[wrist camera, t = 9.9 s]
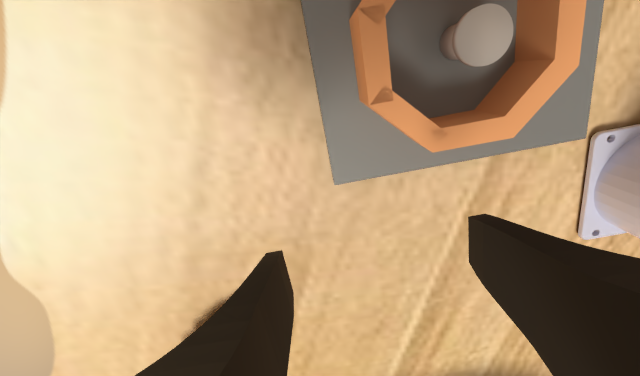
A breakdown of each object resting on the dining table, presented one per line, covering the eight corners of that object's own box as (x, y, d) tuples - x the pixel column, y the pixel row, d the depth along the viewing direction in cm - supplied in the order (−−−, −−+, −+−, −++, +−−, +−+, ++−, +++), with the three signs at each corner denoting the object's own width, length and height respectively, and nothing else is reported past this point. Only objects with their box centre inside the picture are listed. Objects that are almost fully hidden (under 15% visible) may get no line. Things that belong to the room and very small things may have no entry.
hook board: (605, -143, 15) (704, -216, 11) (573, 135, 20) (634, 149, 16) (287, -74, 15) (280, -121, 12) (333, 180, 20) (338, 203, 17)
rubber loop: (545, -90, 15) (601, -128, 12) (531, 118, 18) (571, 127, 16) (340, -47, 15) (347, -75, 12) (365, 149, 19) (375, 163, 16)
